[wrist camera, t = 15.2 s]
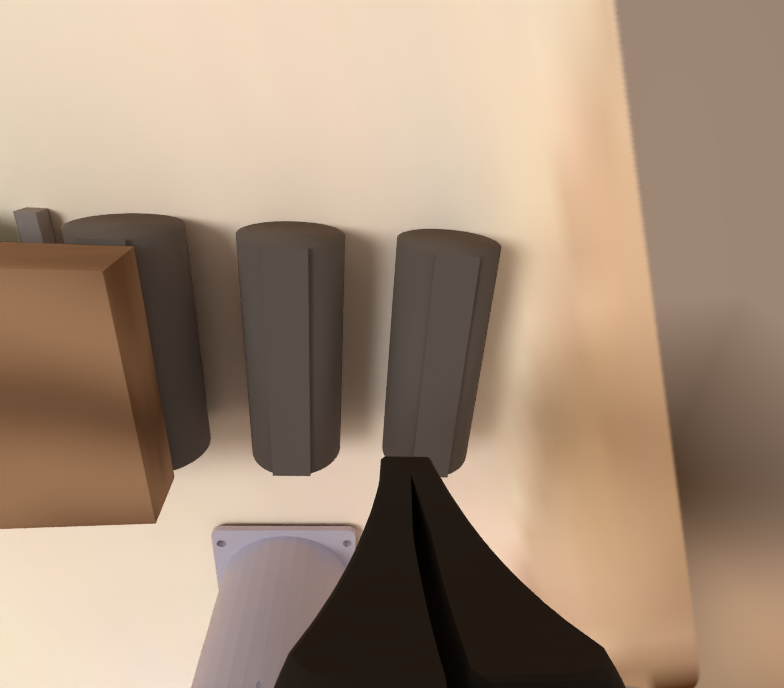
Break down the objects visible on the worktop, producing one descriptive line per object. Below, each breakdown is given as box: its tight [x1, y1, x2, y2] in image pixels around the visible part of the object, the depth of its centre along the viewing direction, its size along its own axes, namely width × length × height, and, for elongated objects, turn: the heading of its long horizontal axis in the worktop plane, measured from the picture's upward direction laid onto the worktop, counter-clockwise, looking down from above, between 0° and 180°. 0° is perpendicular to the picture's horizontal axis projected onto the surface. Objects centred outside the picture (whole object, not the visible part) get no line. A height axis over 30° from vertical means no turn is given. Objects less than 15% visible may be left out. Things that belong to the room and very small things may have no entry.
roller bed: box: [13, 207, 501, 477], centre depth 20 cm, size 10×24×4 cm, turn 86°
